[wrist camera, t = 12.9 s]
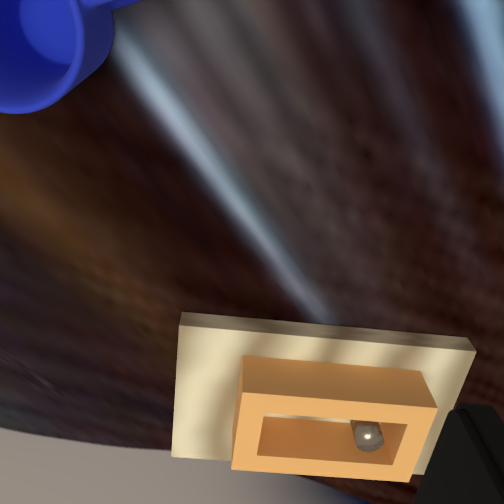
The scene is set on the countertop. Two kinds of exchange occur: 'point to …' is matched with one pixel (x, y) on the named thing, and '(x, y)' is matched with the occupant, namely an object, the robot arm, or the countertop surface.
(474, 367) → the countertop surface
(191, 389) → the backing board
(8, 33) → the mug
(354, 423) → the round metal post
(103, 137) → the countertop surface
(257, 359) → the orange rectangular frame
